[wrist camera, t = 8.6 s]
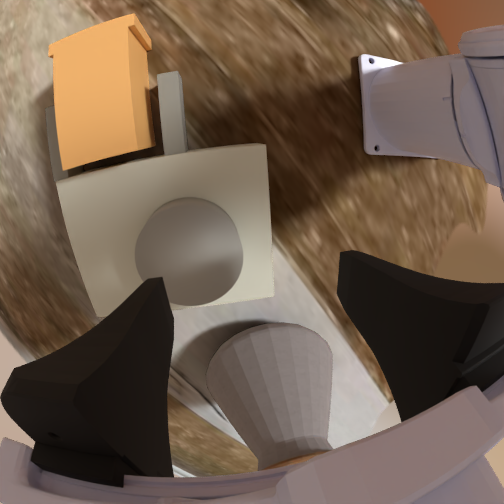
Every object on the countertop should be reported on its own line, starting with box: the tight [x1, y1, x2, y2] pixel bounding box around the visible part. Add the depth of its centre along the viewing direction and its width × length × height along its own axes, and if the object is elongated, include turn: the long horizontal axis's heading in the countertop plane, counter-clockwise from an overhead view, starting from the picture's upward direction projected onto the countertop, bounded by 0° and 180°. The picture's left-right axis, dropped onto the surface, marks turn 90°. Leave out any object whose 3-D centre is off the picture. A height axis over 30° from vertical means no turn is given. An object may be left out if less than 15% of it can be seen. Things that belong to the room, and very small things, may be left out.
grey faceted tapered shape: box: [206, 323, 334, 471], centre depth 21 cm, size 21×12×15 cm, turn 34°
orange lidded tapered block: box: [49, 13, 156, 171], centre depth 12 cm, size 5×8×5 cm
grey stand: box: [45, 71, 274, 317], centre depth 16 cm, size 14×15×5 cm
